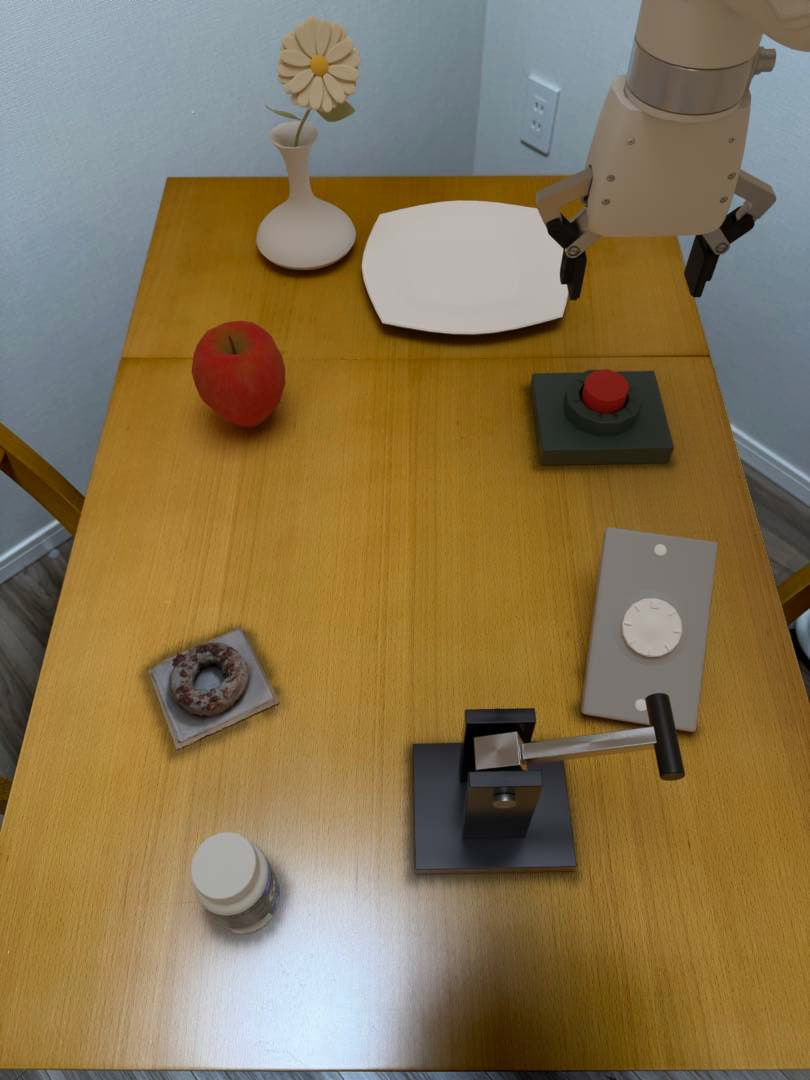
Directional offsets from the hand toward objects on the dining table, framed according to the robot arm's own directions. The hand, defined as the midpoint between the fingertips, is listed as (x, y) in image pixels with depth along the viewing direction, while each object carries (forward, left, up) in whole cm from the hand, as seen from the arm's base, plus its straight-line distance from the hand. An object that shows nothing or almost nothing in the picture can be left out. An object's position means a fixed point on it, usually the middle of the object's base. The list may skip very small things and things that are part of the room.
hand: (631, 287), depth 69 cm
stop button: (0, -1, -13) cm, 13 cm away
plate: (+17, -20, -17) cm, 31 cm away
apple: (+33, +6, -17) cm, 38 cm away
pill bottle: (+18, +48, -17) cm, 54 cm away
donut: (+26, +34, -17) cm, 46 cm away
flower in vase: (+35, -21, -17) cm, 44 cm away
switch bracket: (+3, +38, -17) cm, 42 cm away
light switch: (-6, +23, -17) cm, 29 cm away
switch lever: (-2, +37, -7) cm, 38 cm away
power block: (0, -1, -17) cm, 17 cm away
